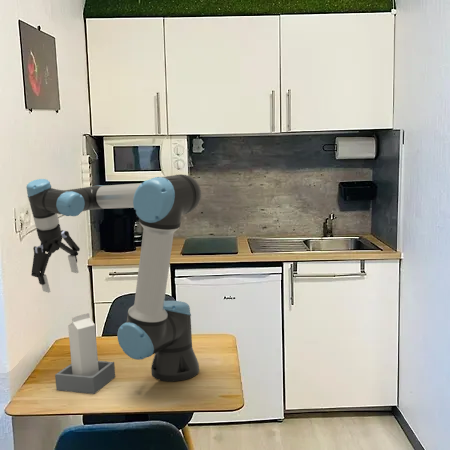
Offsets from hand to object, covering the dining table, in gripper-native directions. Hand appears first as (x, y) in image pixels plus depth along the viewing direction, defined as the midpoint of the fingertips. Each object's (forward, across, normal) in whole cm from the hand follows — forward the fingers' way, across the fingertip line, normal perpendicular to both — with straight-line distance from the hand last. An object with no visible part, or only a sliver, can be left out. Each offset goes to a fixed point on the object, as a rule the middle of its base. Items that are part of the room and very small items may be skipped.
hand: (61, 281), depth 212 cm
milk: (+20, +20, +25) cm, 38 cm away
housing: (+20, +20, +25) cm, 38 cm away
